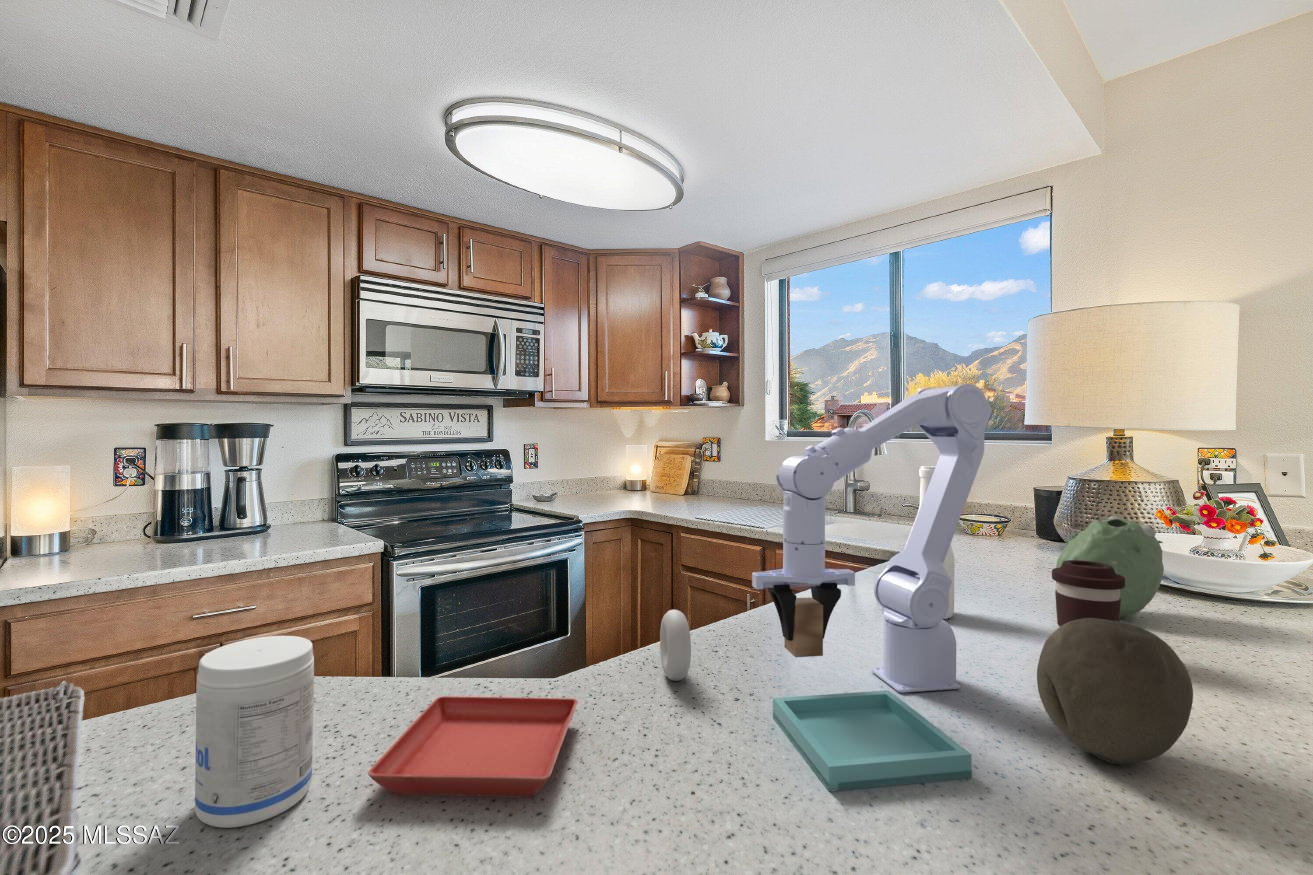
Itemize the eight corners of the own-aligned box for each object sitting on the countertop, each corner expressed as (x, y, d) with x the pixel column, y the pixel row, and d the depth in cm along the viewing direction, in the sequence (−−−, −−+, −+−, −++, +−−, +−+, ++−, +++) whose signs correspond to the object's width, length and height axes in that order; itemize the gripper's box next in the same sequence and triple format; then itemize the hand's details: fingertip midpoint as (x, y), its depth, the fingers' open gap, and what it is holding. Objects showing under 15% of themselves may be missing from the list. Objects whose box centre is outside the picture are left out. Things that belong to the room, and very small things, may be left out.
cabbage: (1036, 607, 127) (1037, 513, 127) (1108, 602, 131) (1109, 511, 131) (1107, 630, 112) (1108, 523, 112) (1186, 624, 116) (1187, 521, 116)
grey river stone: (1208, 806, 58) (1209, 653, 58) (1036, 763, 66) (1038, 627, 66) (1178, 744, 70) (1179, 616, 70) (1035, 713, 78) (1036, 598, 78)
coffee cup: (1058, 659, 97) (1059, 567, 97) (1045, 640, 106) (1046, 555, 106) (1133, 668, 93) (1134, 572, 93) (1112, 648, 103) (1113, 560, 103)
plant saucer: (437, 719, 76) (437, 693, 76) (579, 722, 76) (579, 696, 75) (363, 808, 58) (363, 774, 58) (549, 812, 57) (549, 778, 57)
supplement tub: (183, 803, 58) (183, 651, 58) (292, 762, 65) (292, 627, 65) (211, 848, 52) (212, 678, 52) (329, 798, 59) (329, 648, 59)
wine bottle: (963, 621, 117) (964, 467, 117) (914, 621, 117) (915, 467, 117) (940, 607, 126) (941, 465, 126) (895, 607, 126) (896, 464, 126)
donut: (693, 691, 84) (694, 620, 84) (669, 693, 83) (669, 621, 83) (679, 664, 94) (680, 600, 94) (657, 665, 93) (658, 601, 93)
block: (810, 645, 87) (811, 597, 87) (822, 655, 83) (823, 605, 83) (784, 647, 86) (784, 598, 86) (795, 657, 82) (795, 606, 82)
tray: (888, 709, 79) (888, 690, 79) (971, 777, 63) (971, 754, 63) (772, 717, 76) (773, 697, 76) (828, 791, 61) (829, 766, 61)
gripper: (764, 547, 79) (763, 650, 79) (866, 544, 82) (865, 644, 82) (747, 538, 86) (747, 632, 86) (842, 536, 88) (841, 627, 89)
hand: (803, 637), depth 84 cm, fingers closed on block, 4 cm apart
